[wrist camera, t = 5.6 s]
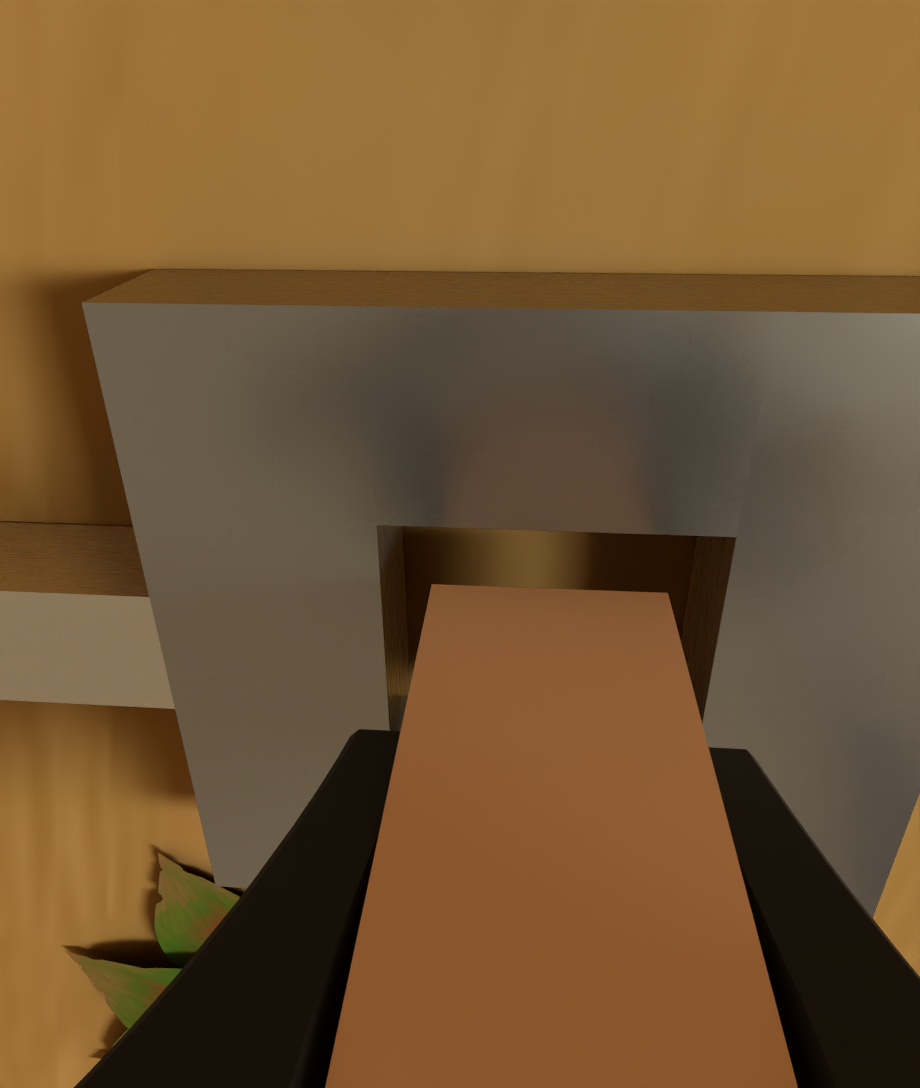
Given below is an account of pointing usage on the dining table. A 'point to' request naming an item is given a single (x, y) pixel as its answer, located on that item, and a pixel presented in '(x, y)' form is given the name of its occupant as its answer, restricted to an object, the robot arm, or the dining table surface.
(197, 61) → the dining table surface
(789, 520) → the gray square-hole plate
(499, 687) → the tan square peg
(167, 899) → the lily flower
